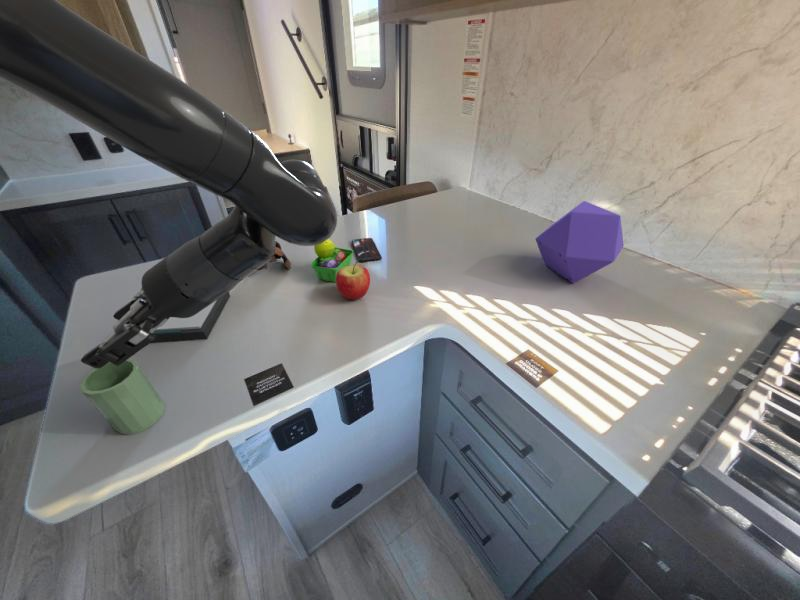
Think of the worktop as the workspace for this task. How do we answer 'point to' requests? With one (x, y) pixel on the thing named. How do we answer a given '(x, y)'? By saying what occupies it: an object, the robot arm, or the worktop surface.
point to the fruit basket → (330, 260)
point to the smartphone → (366, 249)
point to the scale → (191, 324)
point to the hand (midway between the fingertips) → (106, 339)
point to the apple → (353, 281)
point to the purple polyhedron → (581, 241)
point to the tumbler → (123, 396)
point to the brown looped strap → (278, 257)
